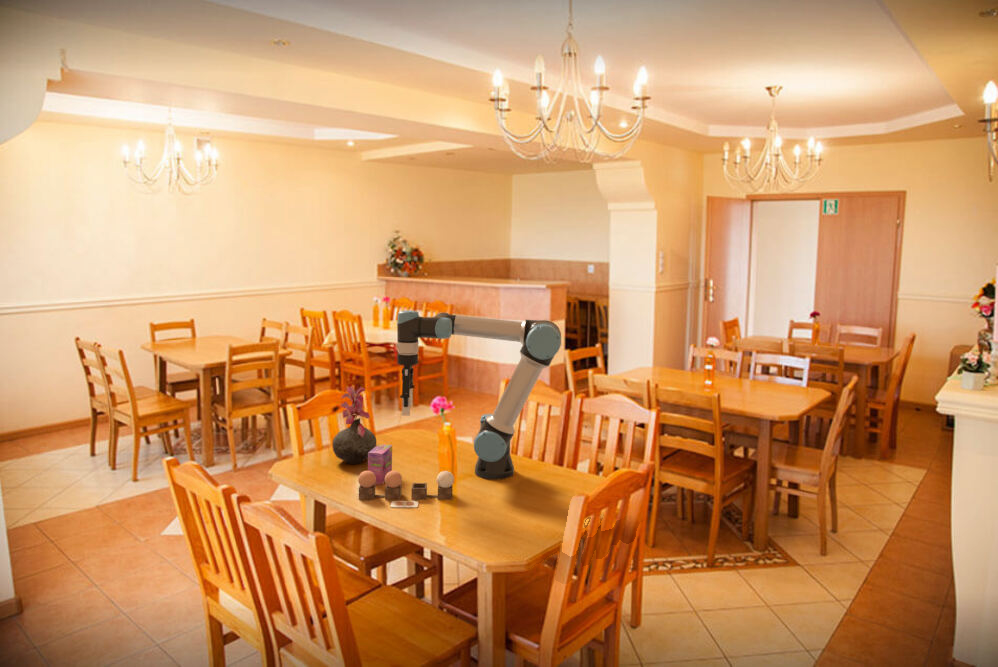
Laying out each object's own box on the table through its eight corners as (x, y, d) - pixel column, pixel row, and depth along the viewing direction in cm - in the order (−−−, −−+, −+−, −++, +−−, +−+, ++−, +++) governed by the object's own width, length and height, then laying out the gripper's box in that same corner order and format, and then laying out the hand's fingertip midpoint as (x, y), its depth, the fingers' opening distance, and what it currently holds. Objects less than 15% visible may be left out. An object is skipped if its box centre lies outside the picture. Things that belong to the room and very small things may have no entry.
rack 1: (401, 493, 231) (401, 483, 230) (399, 499, 226) (399, 488, 225) (360, 493, 230) (360, 482, 229) (358, 499, 225) (358, 488, 224)
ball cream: (453, 484, 232) (454, 468, 231) (453, 491, 226) (454, 474, 225) (436, 484, 231) (437, 468, 230) (436, 491, 225) (436, 474, 225)
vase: (356, 452, 274) (356, 381, 270) (386, 461, 264) (386, 388, 260) (324, 462, 261) (323, 388, 256) (354, 472, 251) (354, 395, 246)
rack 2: (452, 494, 232) (452, 483, 231) (452, 499, 227) (452, 488, 226) (412, 494, 231) (412, 483, 230) (411, 499, 226) (411, 488, 225)
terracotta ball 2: (402, 484, 231) (402, 468, 230) (401, 491, 225) (401, 474, 224) (385, 484, 230) (385, 468, 229) (383, 491, 224) (383, 474, 223)
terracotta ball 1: (376, 484, 230) (376, 468, 229) (374, 490, 224) (374, 474, 223) (359, 484, 230) (359, 468, 229) (357, 491, 224) (356, 474, 223)
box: (382, 484, 239) (382, 453, 237) (367, 483, 240) (367, 452, 238) (392, 475, 249) (392, 445, 247) (378, 473, 250) (378, 443, 248)
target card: (418, 501, 224) (418, 500, 224) (417, 507, 219) (417, 506, 219) (391, 501, 223) (391, 500, 223) (390, 507, 219) (390, 506, 218)
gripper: (400, 347, 249) (400, 401, 252) (394, 359, 225) (393, 419, 227) (420, 347, 250) (419, 402, 253) (416, 359, 225) (415, 419, 228)
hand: (407, 410), depth 240 cm, fingers open, 13 cm apart
